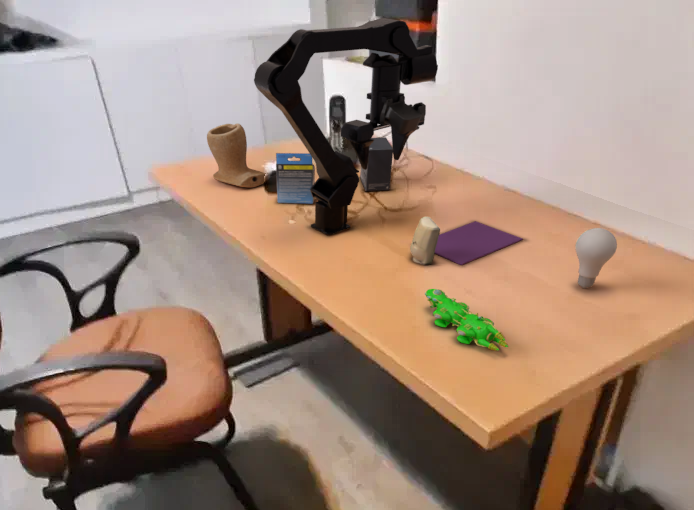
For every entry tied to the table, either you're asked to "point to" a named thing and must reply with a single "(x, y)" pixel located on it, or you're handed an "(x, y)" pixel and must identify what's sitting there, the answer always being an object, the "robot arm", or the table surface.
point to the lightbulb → (593, 254)
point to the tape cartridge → (294, 178)
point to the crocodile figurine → (464, 321)
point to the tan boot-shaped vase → (232, 156)
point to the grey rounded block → (425, 241)
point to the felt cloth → (472, 242)
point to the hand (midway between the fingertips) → (380, 164)
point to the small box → (378, 166)
